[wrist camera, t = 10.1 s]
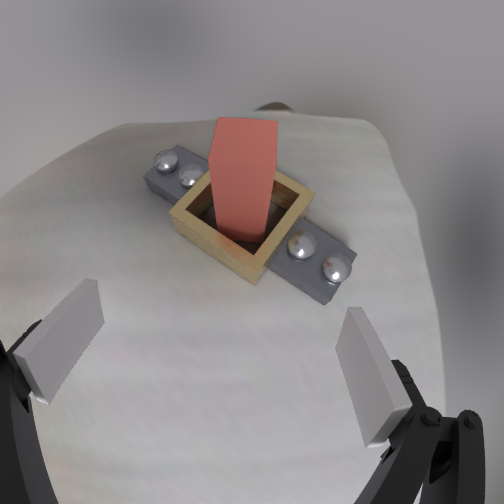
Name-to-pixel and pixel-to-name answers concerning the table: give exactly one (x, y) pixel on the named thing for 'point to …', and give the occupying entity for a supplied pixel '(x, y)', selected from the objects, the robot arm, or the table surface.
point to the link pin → (243, 176)
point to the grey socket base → (277, 243)
